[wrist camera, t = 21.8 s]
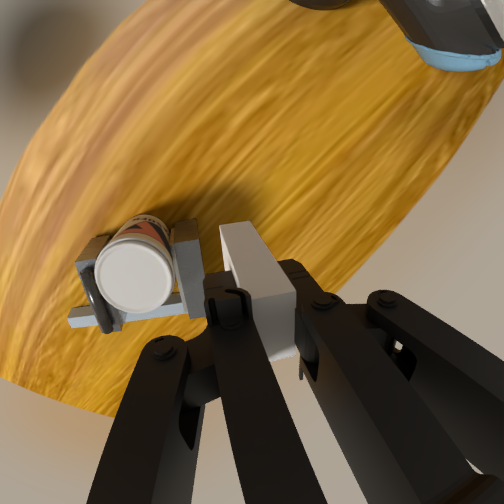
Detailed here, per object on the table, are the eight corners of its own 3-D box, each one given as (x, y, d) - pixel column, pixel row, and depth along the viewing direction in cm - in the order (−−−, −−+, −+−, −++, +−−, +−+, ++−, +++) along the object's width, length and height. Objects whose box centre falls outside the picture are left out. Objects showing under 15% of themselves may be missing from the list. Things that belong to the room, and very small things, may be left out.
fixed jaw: (170, 222, 40) (168, 244, 33) (195, 218, 40) (198, 239, 33) (184, 289, 45) (185, 319, 38) (206, 285, 45) (211, 315, 38)
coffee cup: (187, 224, 41) (188, 261, 30) (161, 277, 43) (157, 326, 32) (128, 198, 37) (107, 226, 26) (106, 254, 39) (84, 297, 29)
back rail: (71, 308, 41) (66, 318, 39) (207, 288, 45) (208, 298, 43) (76, 317, 42) (71, 328, 40) (209, 298, 46) (210, 309, 44)
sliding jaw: (91, 238, 37) (70, 268, 29) (113, 233, 38) (96, 263, 30) (112, 301, 42) (100, 340, 34) (132, 298, 43) (123, 337, 34)
